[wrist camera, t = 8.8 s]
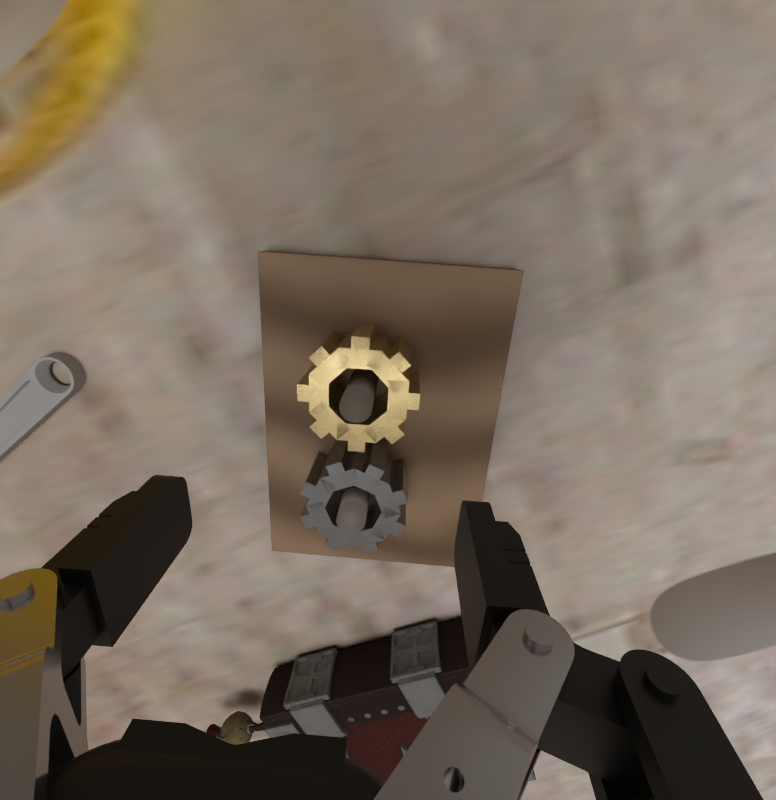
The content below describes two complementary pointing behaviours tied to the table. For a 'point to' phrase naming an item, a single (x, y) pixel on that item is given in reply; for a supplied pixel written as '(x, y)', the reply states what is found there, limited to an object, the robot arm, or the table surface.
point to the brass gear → (327, 392)
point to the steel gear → (364, 472)
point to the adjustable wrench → (35, 399)
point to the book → (362, 694)
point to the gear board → (439, 387)
